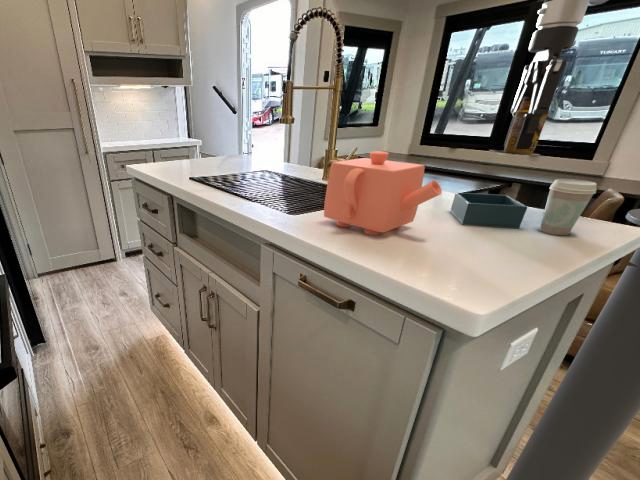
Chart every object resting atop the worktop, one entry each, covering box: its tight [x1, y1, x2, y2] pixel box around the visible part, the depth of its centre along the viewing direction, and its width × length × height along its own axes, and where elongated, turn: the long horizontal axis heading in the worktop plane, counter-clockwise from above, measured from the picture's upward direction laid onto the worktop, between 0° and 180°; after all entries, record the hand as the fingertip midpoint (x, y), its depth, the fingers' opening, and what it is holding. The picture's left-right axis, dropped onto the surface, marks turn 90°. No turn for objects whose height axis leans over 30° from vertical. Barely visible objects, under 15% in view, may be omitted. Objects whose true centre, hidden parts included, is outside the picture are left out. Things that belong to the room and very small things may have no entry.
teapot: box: [323, 150, 442, 236], centre depth 87 cm, size 25×23×18 cm
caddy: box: [449, 192, 528, 230], centre depth 97 cm, size 13×13×6 cm
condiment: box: [489, 97, 550, 156], centre depth 84 cm, size 7×8×12 cm
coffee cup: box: [539, 178, 597, 236], centre depth 86 cm, size 8×8×12 cm
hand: (515, 147), depth 86 cm, fingers closed on condiment, 6 cm apart
